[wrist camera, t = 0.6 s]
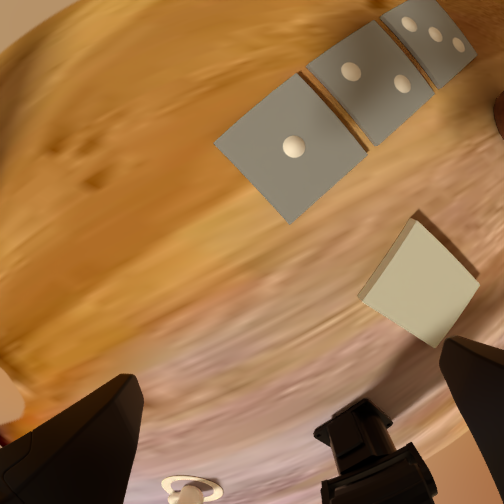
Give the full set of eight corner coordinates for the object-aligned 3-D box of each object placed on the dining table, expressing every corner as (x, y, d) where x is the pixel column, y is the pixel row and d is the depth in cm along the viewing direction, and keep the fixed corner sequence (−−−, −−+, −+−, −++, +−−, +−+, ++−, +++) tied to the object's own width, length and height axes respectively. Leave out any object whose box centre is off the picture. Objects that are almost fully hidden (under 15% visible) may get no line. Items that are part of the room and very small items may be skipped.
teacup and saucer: (182, 501, 30) (180, 523, 26) (145, 477, 28) (139, 501, 24) (234, 493, 29) (234, 517, 25) (199, 468, 27) (196, 495, 23)
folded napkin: (473, 280, 21) (480, 284, 20) (429, 343, 23) (435, 348, 22) (410, 217, 20) (416, 220, 19) (357, 296, 21) (361, 301, 20)
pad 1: (364, 155, 18) (367, 154, 18) (288, 223, 19) (289, 225, 19) (295, 75, 17) (296, 72, 16) (214, 143, 18) (213, 142, 17)
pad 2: (431, 94, 17) (435, 93, 16) (374, 146, 18) (377, 145, 18) (371, 22, 15) (374, 19, 15) (305, 66, 17) (307, 64, 16)
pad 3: (474, 55, 16) (478, 54, 15) (437, 89, 17) (441, 87, 16) (424, -8, 14) (426, -10, 14) (379, 17, 15) (382, 15, 15)
